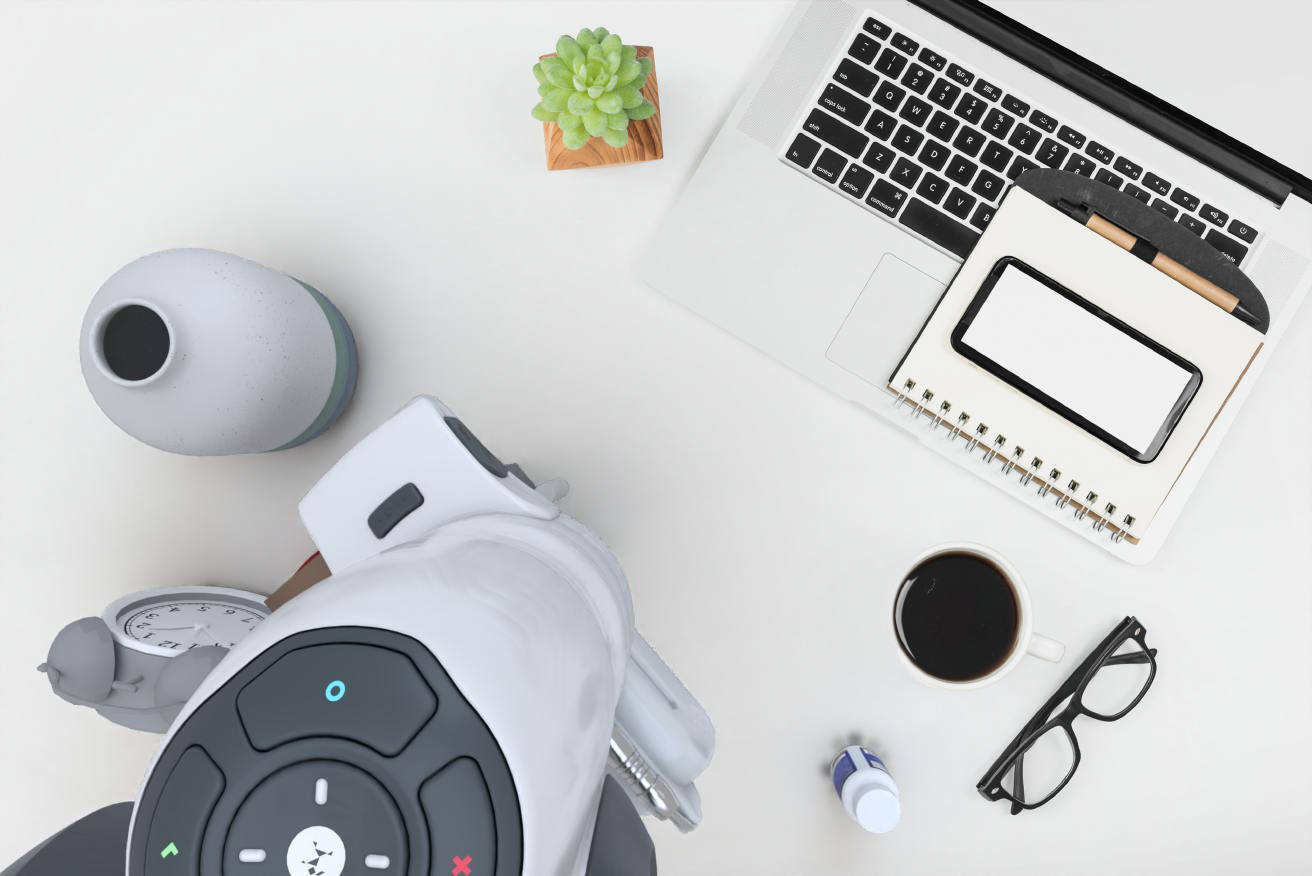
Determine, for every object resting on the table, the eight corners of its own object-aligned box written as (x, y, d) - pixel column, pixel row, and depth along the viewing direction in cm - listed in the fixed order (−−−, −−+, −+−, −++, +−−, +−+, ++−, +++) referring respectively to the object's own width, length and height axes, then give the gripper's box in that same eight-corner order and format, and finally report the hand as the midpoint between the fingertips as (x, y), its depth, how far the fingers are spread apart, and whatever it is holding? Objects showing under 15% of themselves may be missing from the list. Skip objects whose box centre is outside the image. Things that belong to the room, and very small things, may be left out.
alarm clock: (335, 607, 83) (211, 672, 61) (317, 690, 83) (186, 786, 61) (178, 569, 83) (-2, 621, 61) (160, 653, 84) (-25, 734, 62)
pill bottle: (837, 802, 82) (856, 848, 73) (823, 751, 82) (840, 791, 73) (889, 789, 82) (915, 833, 73) (875, 737, 82) (899, 775, 73)
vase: (375, 283, 82) (249, 224, 58) (372, 452, 83) (246, 463, 59) (208, 280, 83) (15, 221, 59) (206, 449, 83) (13, 458, 59)
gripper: (764, 796, 30) (738, 678, 43) (395, 360, 30) (486, 382, 44) (630, 907, 30) (647, 755, 44) (265, 474, 30) (396, 459, 44)
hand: (564, 566), depth 44 cm, fingers closed
